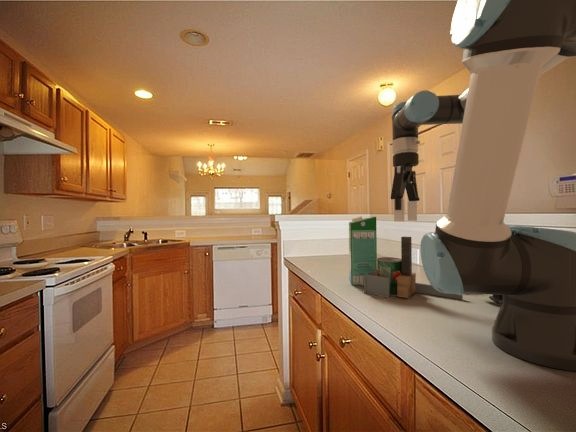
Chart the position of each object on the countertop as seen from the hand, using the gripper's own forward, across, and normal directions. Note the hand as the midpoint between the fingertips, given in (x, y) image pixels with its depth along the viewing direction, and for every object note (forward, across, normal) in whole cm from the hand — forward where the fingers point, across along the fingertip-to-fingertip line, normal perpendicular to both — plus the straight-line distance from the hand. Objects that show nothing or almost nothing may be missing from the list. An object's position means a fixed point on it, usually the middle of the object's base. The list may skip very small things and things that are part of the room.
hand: (406, 221), depth 88 cm
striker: (+24, 0, 0) cm, 24 cm away
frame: (+24, 0, -1) cm, 24 cm away
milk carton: (+24, +8, +18) cm, 31 cm away
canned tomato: (+24, +1, +6) cm, 24 cm away
